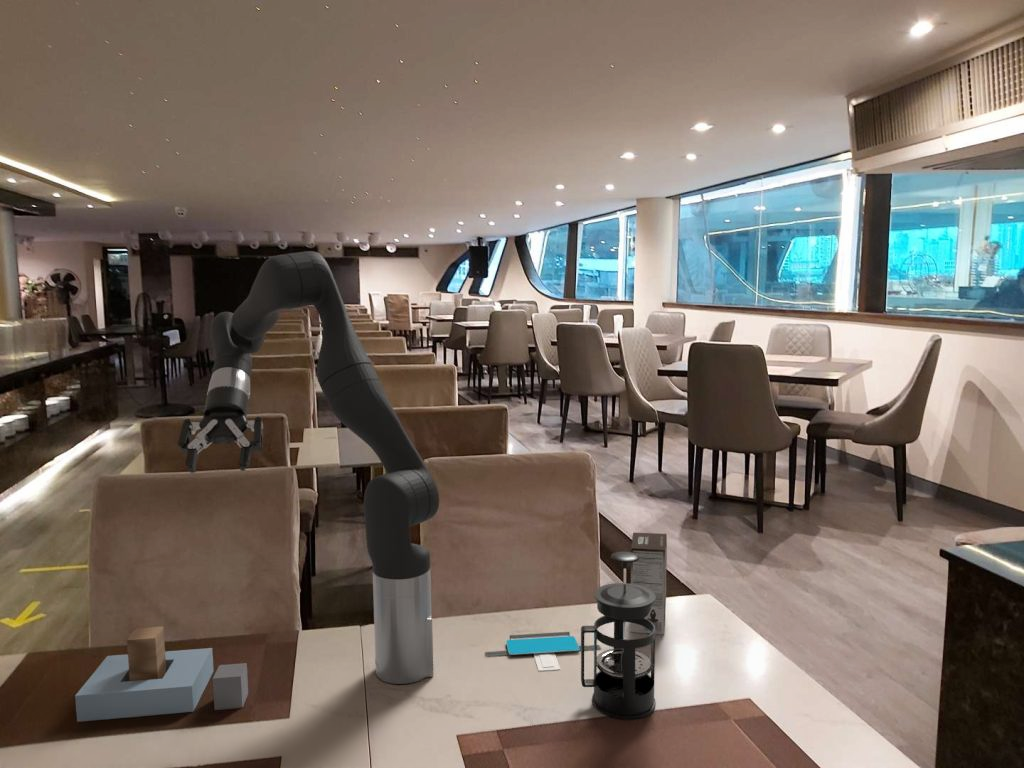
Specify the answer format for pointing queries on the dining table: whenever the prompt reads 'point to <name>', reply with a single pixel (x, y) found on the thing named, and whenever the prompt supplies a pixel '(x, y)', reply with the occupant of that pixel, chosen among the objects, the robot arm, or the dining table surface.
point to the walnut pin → (146, 654)
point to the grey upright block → (230, 686)
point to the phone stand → (541, 648)
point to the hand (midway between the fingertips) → (217, 469)
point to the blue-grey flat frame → (145, 687)
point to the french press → (622, 649)
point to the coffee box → (651, 576)
